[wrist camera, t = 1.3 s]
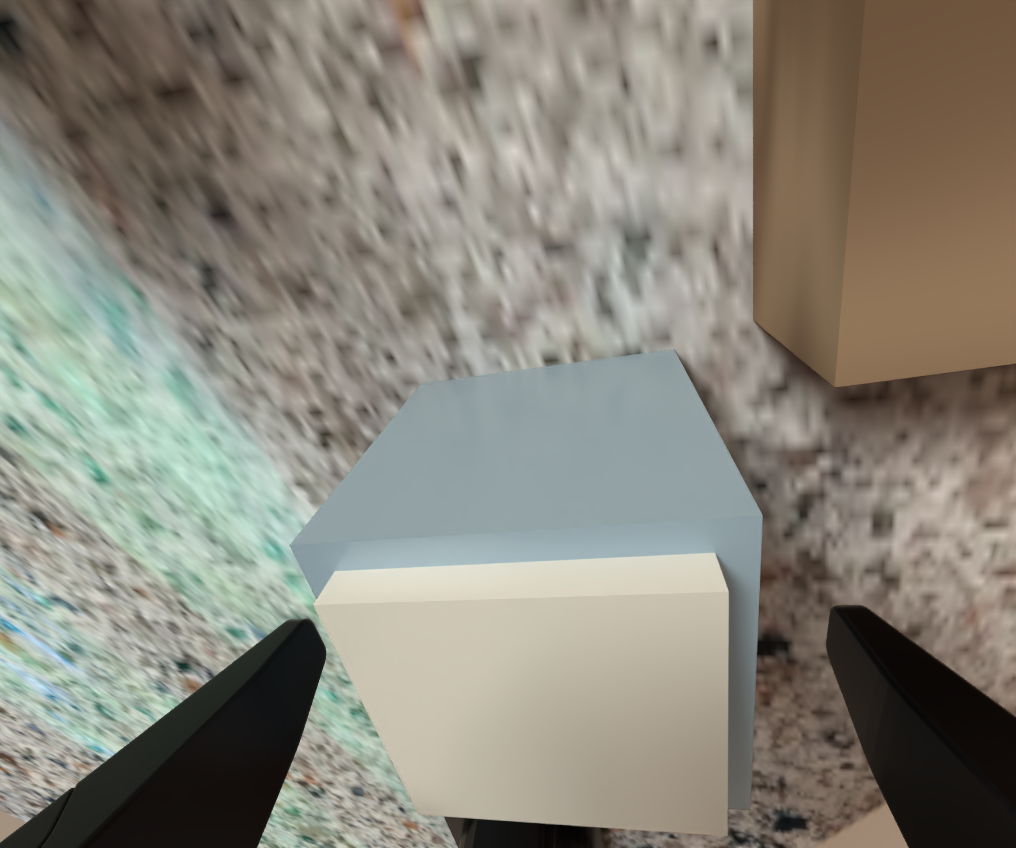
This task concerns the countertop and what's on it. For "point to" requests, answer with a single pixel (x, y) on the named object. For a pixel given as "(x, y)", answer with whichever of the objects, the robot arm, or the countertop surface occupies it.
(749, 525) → the blue-grey and cream block
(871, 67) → the walnut block
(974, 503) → the countertop surface
